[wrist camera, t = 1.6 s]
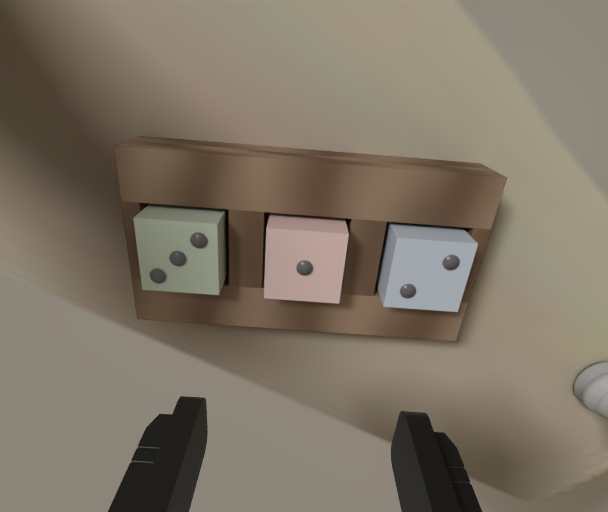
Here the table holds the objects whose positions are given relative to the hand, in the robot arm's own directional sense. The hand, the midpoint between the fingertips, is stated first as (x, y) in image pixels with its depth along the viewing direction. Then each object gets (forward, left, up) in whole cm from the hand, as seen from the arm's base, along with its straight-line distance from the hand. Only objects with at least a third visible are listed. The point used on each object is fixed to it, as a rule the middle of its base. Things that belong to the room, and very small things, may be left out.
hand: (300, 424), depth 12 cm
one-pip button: (0, 0, -13) cm, 13 cm away
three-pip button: (-7, 0, -13) cm, 15 cm away
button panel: (0, 0, -16) cm, 16 cm away
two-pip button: (+7, 0, -13) cm, 15 cm away
